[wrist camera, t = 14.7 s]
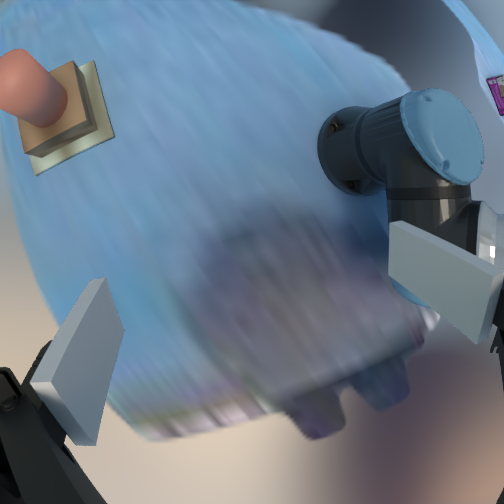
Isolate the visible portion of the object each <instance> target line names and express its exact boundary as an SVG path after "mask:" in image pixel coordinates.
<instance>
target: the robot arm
mask: <svg viewBox="0 0 504 504" xmlns="http://www.w3.org/2000/svg"><path fill="white" fill-rule="evenodd" d="M318 155H319V159H320V163H321V166H322V168H323V170H324V172H325V174H326V175H327V177H328V178H329V179H330V181H331V182H332V183H333V184H334V185H335V186H336V187H338V188H339V189H340V190H342V191H344V192H346V193H348V194H352V195H358V196H368V195H373V194H377V193H379V192H381V191H383V190H384V189H386V196H387V209H388V225H389V264H388V275H389V276H390V277H391V278H392V283H393V286H394V288H395V289H396V290H397V292H398V293H399V294H400V295H401V296H402V297H403V298H405V299H406V300H408V301H410V302H412V303H414V304H417V305H420V306H423V307H427V308H431V309H433V310H435V311H436V312H437V313H438V314H440V315H441V316H442V317H443V318H445V319H446V320H447V321H448V322H450V323H451V324H452V325H453V326H455V327H456V328H457V329H458V330H459V331H461V332H462V333H463V334H464V335H466V336H467V337H468V338H469V339H470V340H472V341H473V342H474V343H475V344H478V343H480V342H481V341H483V340H485V339H486V338H488V336H489V333H490V330H491V327H492V323H493V324H494V325H496V326H497V327H498V328H497V331H496V334H495V337H494V340H493V344H492V346H491V349H490V353H492V352H493V350H494V348H495V347H496V346H497V347H498V348H497V351H496V353H499V359H500V366H501V373H502V381H503V390H504V214H497V213H496V212H494V211H493V209H492V208H491V207H490V206H489V205H488V204H487V203H486V202H485V201H473V200H471V189H470V184H471V183H472V182H473V181H475V180H476V179H477V178H478V177H479V175H480V174H481V171H482V166H481V165H482V164H483V163H484V147H483V141H482V137H481V134H480V131H479V128H478V126H477V124H476V122H475V120H474V118H473V116H472V115H471V113H470V112H469V110H468V109H466V107H465V106H464V104H463V103H462V102H461V101H460V100H459V99H458V98H457V97H455V96H454V95H453V94H451V93H449V92H447V91H445V90H442V89H438V88H428V89H424V90H421V91H413V92H409V93H407V94H405V95H404V96H401V97H399V98H396V99H394V100H391V101H389V102H386V103H384V104H382V105H379V106H377V107H374V108H367V107H358V106H354V107H347V108H344V109H342V110H340V111H338V112H336V113H334V114H332V115H331V116H330V117H329V118H328V119H327V120H326V121H325V123H324V124H323V126H322V128H321V130H320V133H319V138H318ZM124 331H125V330H124V328H123V325H122V323H121V320H120V317H119V315H118V312H117V309H116V306H115V304H114V301H113V298H112V295H111V292H110V289H109V286H108V283H107V280H106V277H104V278H99V279H94V280H90V281H89V283H88V284H87V286H86V287H85V289H84V290H83V292H82V293H81V295H80V296H79V298H78V300H77V301H76V303H75V304H74V306H73V307H72V309H71V311H70V312H69V314H68V315H67V317H66V319H65V320H64V322H63V324H62V325H61V327H60V329H59V330H58V332H57V334H56V335H55V337H54V339H53V340H51V341H49V342H48V343H47V344H46V345H45V346H44V347H43V348H42V349H41V350H40V352H39V354H38V356H37V357H36V360H35V361H34V363H33V364H32V367H31V368H30V370H29V371H28V373H27V375H26V377H25V379H24V381H23V383H22V384H21V385H20V383H19V382H18V380H17V379H16V377H15V376H14V374H13V372H12V371H11V370H10V368H7V367H0V504H107V503H106V501H105V500H104V499H103V498H102V496H101V495H100V494H99V492H98V491H97V490H96V488H95V487H94V486H93V484H92V483H91V482H90V480H89V479H88V477H87V476H86V474H85V473H84V472H83V470H82V469H81V468H80V466H79V464H78V463H77V461H76V460H75V458H74V456H73V455H72V453H71V452H70V450H69V449H68V448H67V446H66V445H65V444H64V441H65V437H66V434H67V435H68V436H69V438H70V439H71V440H72V442H73V443H74V444H75V445H83V446H96V442H97V437H98V432H99V427H100V423H101V418H102V414H103V409H104V405H105V401H106V397H107V393H108V389H109V385H110V381H111V377H112V373H113V369H114V366H115V362H116V358H117V355H118V351H119V348H120V344H121V341H122V338H123V334H124ZM496 504H504V488H503V491H502V493H501V495H500V497H499V498H498V500H497V503H496Z"/></svg>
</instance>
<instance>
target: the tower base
mask: <svg viewBox="0 0 504 504" xmlns="http://www.w3.org/2000/svg"><path fill="white" fill-rule="evenodd" d="M49 73H50V74H51V75H52V76H53V77H54V78H55V79H56V80H57V81H58V82H59V83H60V84H61V85H62V86H63V87H64V88H65V90H66V92H67V95H68V102H67V106H66V109H65V111H64V113H63V115H62V116H61V117H60V119H59V120H58V121H57V122H55V123H54V124H52V125H50V126H48V127H44V128H40V127H36V126H34V125H32V124H30V123H28V122H26V121H24V120H22V119H20V118H18V117H17V118H18V124H19V130H20V135H21V140H22V144H23V149H24V153H25V154H29V155H30V159H31V163H32V167H33V171H34V175H35V176H38V175H40V174H41V173H43V172H45V171H47V170H49V169H50V168H52V167H54V166H56V165H58V164H60V163H62V162H64V161H66V160H68V159H69V158H71V157H73V156H75V155H77V154H80V153H82V152H84V151H86V150H88V149H90V148H92V147H94V146H96V145H99V144H101V143H103V142H105V141H107V140H110V139H112V138H114V137H115V136H114V132H113V129H112V126H111V122H110V119H109V115H108V112H107V108H106V105H105V101H104V97H103V94H102V90H101V86H100V82H99V78H98V74H97V70H96V66H95V62H94V60H93V61H91V62H88V63H86V64H84V65H82V66H80V67H78V66H77V65H76V64H75V62H74V61H73V60H72V61H70V62H68V63H66V64H64V65H62V66H60V67H58V68H56V69H54V70H53V71H51V72H49Z"/></svg>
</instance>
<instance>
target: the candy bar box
mask: <svg viewBox="0 0 504 504" xmlns="http://www.w3.org/2000/svg"><path fill="white" fill-rule="evenodd" d="M486 80H487V82H488V85H489V87H490V90H491V92H492V95H493V97H494V100H495V102H496V105H497V108H498V111H499V114H500V116H503V115H504V74H503V75H498V76H494V77H491V78H488V79H486Z"/></svg>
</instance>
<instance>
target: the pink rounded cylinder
mask: <svg viewBox="0 0 504 504" xmlns="http://www.w3.org/2000/svg"><path fill="white" fill-rule="evenodd" d="M67 102H68V95H67V92H66V90H65V88H64V87H63V86H62V85H61V84H60V83H59V82H58V81H57V80H56V79H55V78H54V77H53V76H52V75H51V74H50V73H49V72H47V71H46V70H45V69H44V68H43V67H42V66H41V65H40V64H39V63H38V62H37V61H36V60H35V59H34V58H33V57H32V56H31V55H30V54H29V53H28V52H27V51H26V50H23V49H15V50H12V51H10V52H8V53H6V54H4V55H3V56H2V57H1V58H0V109H2V110H4V111H6V112H8V113H10V114H12V115H14V116H16V117H18V118H20V119H22V120H24V121H26V122H28V123H30V124H32V125H34V126H36V127H40V128H44V127H48V126H50V125H52V124H54V123H55V122H57V121H58V120H59V119H60V117H61V116H62V115H63V113H64V111H65V109H66V106H67Z"/></svg>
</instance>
